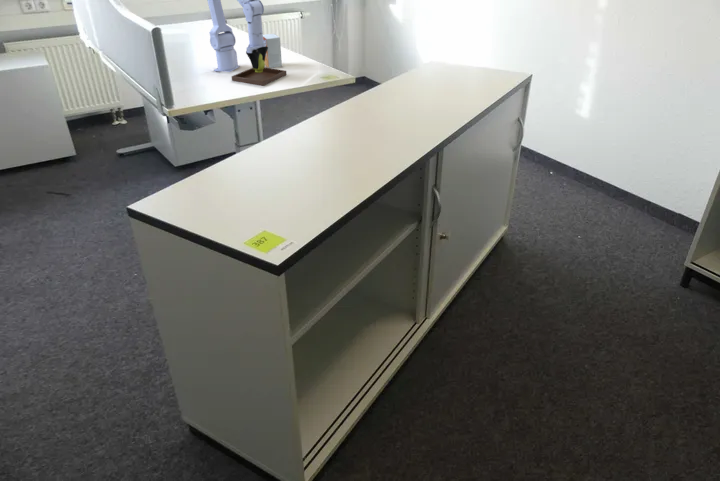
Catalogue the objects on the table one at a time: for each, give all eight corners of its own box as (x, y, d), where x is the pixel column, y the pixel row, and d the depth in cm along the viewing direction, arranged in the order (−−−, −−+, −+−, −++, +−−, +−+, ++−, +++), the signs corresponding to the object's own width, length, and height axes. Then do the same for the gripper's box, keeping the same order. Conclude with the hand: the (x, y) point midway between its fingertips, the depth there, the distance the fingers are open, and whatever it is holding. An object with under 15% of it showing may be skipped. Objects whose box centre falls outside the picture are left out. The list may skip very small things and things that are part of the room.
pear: (256, 69, 236) (254, 47, 231) (267, 70, 234) (265, 48, 229) (250, 72, 231) (248, 50, 226) (262, 74, 230) (260, 51, 225)
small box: (263, 64, 253) (261, 34, 246) (276, 62, 255) (274, 33, 248) (268, 69, 247) (266, 38, 240) (282, 67, 249) (280, 37, 242)
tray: (256, 71, 244) (256, 66, 243) (286, 76, 238) (286, 70, 237) (232, 81, 231) (231, 76, 229) (262, 87, 225) (262, 81, 224)
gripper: (256, 37, 217) (259, 72, 225) (272, 29, 229) (274, 62, 236) (240, 36, 219) (244, 70, 226) (256, 28, 231) (259, 61, 238)
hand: (258, 66), depth 232 cm, fingers closed on pear, 5 cm apart
